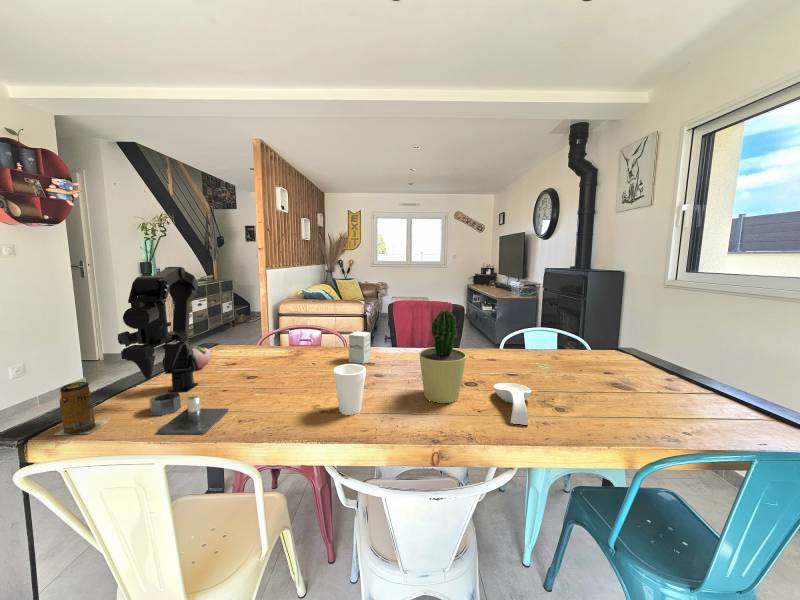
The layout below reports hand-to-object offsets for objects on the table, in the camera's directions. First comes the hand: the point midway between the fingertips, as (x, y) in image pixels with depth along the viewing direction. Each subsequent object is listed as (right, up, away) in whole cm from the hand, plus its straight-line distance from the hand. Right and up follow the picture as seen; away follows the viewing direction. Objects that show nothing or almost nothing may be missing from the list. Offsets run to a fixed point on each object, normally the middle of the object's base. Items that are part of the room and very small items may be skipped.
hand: (160, 372), depth 94 cm
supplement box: (+52, -6, +49) cm, 72 cm away
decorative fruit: (-11, -7, +36) cm, 39 cm away
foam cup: (+55, -12, +3) cm, 57 cm away
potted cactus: (+84, -11, +13) cm, 86 cm away
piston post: (+13, -13, -5) cm, 19 cm away
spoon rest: (+106, -13, +7) cm, 107 cm away
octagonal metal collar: (0, -12, +2) cm, 12 cm away
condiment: (-15, -13, -8) cm, 21 cm away
